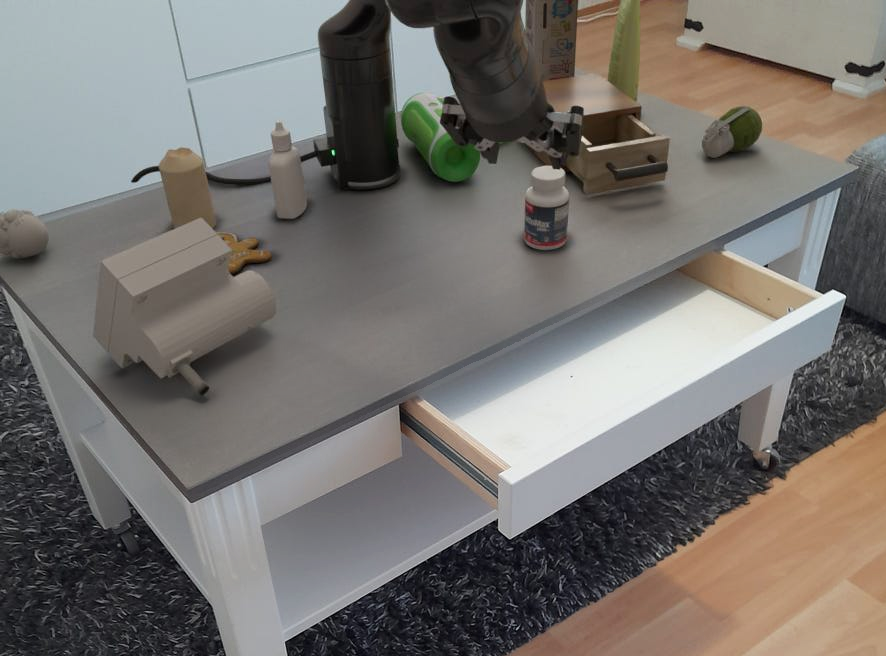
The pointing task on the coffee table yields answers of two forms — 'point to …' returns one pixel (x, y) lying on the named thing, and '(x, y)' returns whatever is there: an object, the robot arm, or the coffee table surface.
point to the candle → (186, 187)
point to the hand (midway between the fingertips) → (526, 157)
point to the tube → (626, 49)
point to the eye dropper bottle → (286, 175)
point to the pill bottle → (546, 209)
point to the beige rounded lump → (22, 234)
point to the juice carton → (553, 36)
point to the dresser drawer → (619, 154)
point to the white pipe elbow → (176, 301)
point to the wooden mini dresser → (587, 100)
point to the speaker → (436, 139)
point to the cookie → (243, 252)
